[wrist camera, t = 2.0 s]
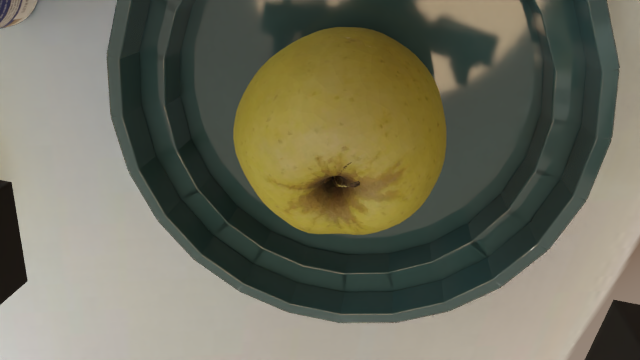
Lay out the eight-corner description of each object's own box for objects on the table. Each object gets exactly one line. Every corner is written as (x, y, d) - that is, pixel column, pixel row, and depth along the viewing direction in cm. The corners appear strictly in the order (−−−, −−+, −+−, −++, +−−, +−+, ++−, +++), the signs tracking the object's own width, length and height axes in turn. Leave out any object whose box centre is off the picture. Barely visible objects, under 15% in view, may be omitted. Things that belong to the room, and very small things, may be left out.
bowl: (144, -181, 20) (88, -208, 17) (663, -119, 18) (725, -134, 15) (156, 237, 29) (120, 278, 25) (506, 306, 27) (521, 361, 24)
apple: (284, -37, 20) (306, 43, 12) (441, 47, 23) (547, 159, 15) (212, 122, 24) (190, 269, 15) (355, 179, 26) (401, 329, 18)
